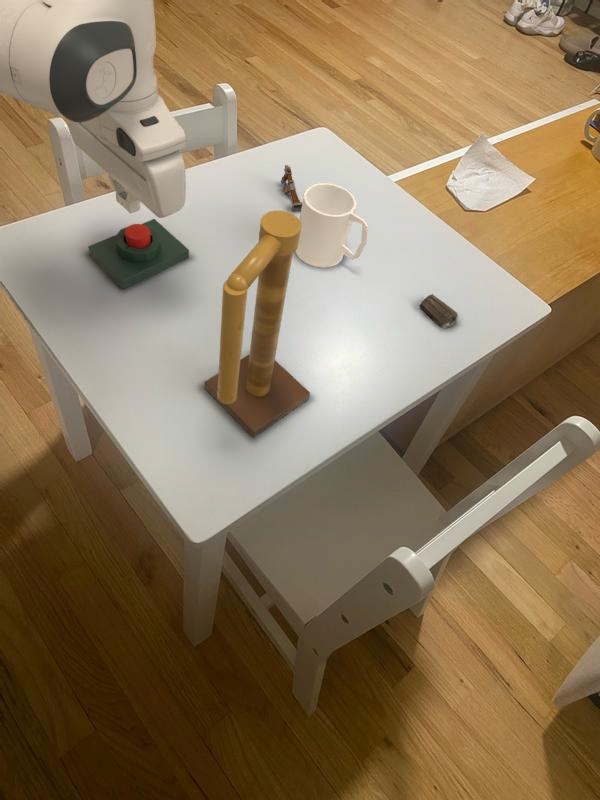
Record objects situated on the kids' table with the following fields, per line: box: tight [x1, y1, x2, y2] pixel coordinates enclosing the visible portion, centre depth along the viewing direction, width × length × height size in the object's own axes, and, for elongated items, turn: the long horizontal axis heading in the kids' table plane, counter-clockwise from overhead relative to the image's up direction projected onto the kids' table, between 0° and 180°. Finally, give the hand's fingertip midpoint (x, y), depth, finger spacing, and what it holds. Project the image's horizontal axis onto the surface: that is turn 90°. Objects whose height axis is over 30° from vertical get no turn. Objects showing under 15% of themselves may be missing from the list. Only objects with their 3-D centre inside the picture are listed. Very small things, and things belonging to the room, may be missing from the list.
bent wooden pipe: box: [217, 210, 301, 404], centre depth 63 cm, size 12×4×18 cm, turn 154°
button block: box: [87, 218, 190, 290], centre depth 92 cm, size 12×9×4 cm
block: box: [419, 293, 459, 329], centre depth 94 cm, size 4×6×2 cm, turn 46°
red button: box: [125, 223, 151, 248], centre depth 90 cm, size 4×4×2 cm
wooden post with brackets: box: [280, 164, 303, 211], centre depth 106 cm, size 2×8×4 cm, turn 21°
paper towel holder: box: [204, 253, 311, 439], centre depth 71 cm, size 10×10×26 cm
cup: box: [295, 182, 369, 268], centre depth 95 cm, size 8×12×10 cm
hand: (128, 206), depth 81 cm, fingers closed
